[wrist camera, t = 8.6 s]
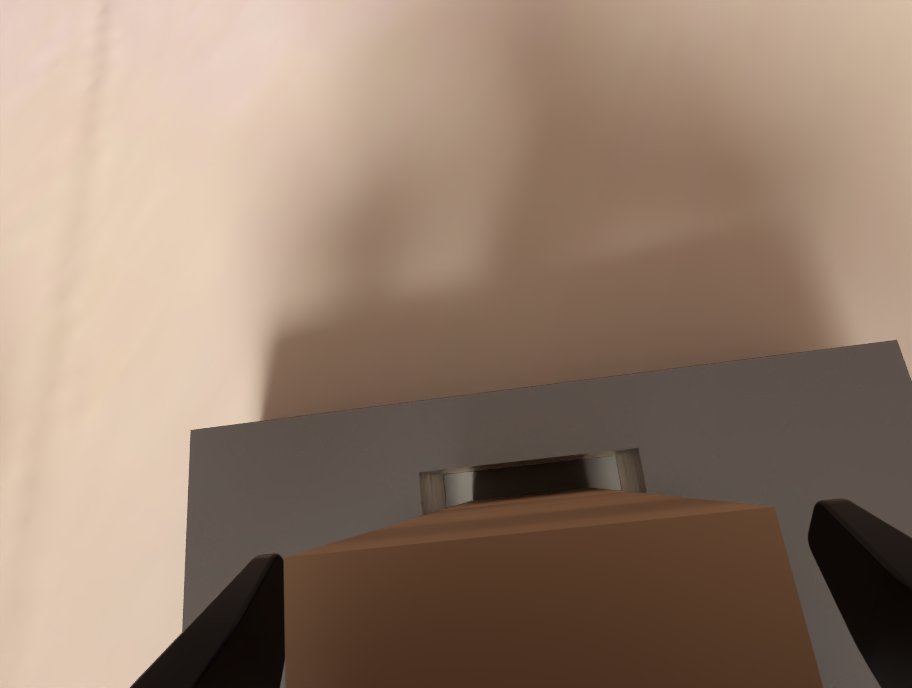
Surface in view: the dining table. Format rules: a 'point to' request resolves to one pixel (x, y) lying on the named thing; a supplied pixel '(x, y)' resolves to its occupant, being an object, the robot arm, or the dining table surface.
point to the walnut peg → (553, 598)
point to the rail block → (571, 438)
